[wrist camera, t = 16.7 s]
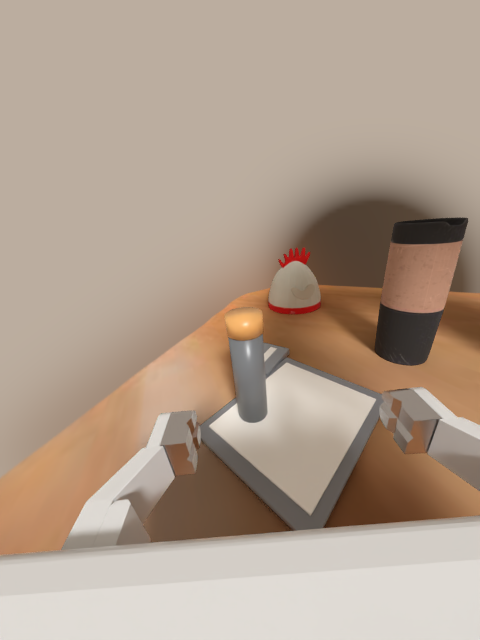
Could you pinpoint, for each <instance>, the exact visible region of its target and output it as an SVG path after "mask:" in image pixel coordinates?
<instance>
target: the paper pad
mask: <svg viewBox="0 0 480 640" xmlns="http://www.w3.org/2000/svg"><path fill="white" fill-rule="evenodd" d="M265 378H266V393H267V409H268V413H267V416H266V417H265V418H264V419H263V420H262V421H260V422H257V423H248V422H245V421H243V420H242V419H241V418H240V416H239V413H238V405H237V398H234V399H233V400H232V401H231V402H229V403H228V404H227V405H226V406H224V407H223V408H222V409H221V410H219V411H218V412H217V413H215V414H214V415H213V416H212V417H210V418H209V419H208V420H207V421H205V422H204V423H203V424H202V425H200V431H201V441H202V442H203V443H204V444H205V445H206V446H208V447H209V448H210V449H211V450H212V451H213V452H214V453H215V454H216V455H217V456H218V457H219V458H220V459H221V460H222V461H223V462H224V463H225V464H226V465H227V466H228V467H229V468H230V469H231V470H232V471H233V472H234V473H235V474H236V475H237V476H238V477H239V478H240V479H241V480H242V481H243V482H244V483H245V484H246V485H247V486H248V487H249V488H250V489H251V490H252V491H253V492H254V493H255V494H257V495H258V496H259V497H260V498H261V499H262V500H263V501H264V502H265V503H266V504H267V505H268V506H269V507H270V508H271V509H272V510H273V511H274V512H275V513H276V514H277V515H278V516H279V517H280V518H281V519H282V520H283V521H284V522H285V523H286V524H287V525H288V526H289V527H290V528H291V529H292V530H293V531H297V530H309V529H321V528H324V526H325V524H326V522H327V520H328V518H329V516H330V515H331V513H332V511H333V509H334V507H335V505H336V503H337V501H338V499H339V497H340V495H341V493H342V491H343V489H344V487H345V485H346V483H347V481H348V479H349V477H350V475H351V473H352V471H353V469H354V467H355V465H356V463H357V461H358V459H359V457H360V455H361V453H362V451H363V449H364V447H365V445H366V443H367V441H368V439H369V437H370V435H371V433H372V431H373V429H374V427H375V425H376V423H377V422H378V420H379V418H380V414H379V409H380V405H381V404H382V403H383V402H384V401H383V399H382V394H379V393H377V392H374V391H372V390H369V389H367V388H364V387H362V386H359V385H356V384H354V383H351V382H349V381H346V380H344V379H341V378H338V377H336V376H333V375H331V374H328V373H326V372H323V371H321V370H318V369H315V368H313V367H310V366H308V365H305V364H303V363H300V362H298V361H295V360H292V359H290V358H287V357H286V358H285V359H284V360H283V361H281V362H280V363H279V364H278V365H277V366H276V367H275V369H274V370H273V371H272V372H271V373H270V375H269V376H268V377H267V376H265Z"/></svg>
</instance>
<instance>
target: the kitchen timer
mask: <svg viewBox="0 0 480 640" xmlns="http://www.w3.org/2000/svg"><path fill="white" fill-rule="evenodd" d="M309 256H310V252H308V254H307V255H306V256H305V248H303V249H302V251H301V255H300V256H299V252H298V249H297V248H296V249H295V256H293V251H292V249H290V251H289V258H288V257H287V255H286V254H284V258H285V263H284V264H283V263H282V262H281V260H279V263H280V265H281V268H280V269H279V271H278V272H277V273H276V275H275V277H274V279H273V282H272V284H271V288H270V292H269V299H268V303H269V308H270V309H271V310H273V311H275V312H279V313H284V314H304V313H309V312H312V311H315V310H317V309H318V308H319V307H320V305H321V295H320V290H319V287H318V283H317V281H316V278H315V276H314V275H313V273H312V271H311V270H310V269H309V268H308V267H307V266H306V263H307V260H308V258H309Z"/></svg>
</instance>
